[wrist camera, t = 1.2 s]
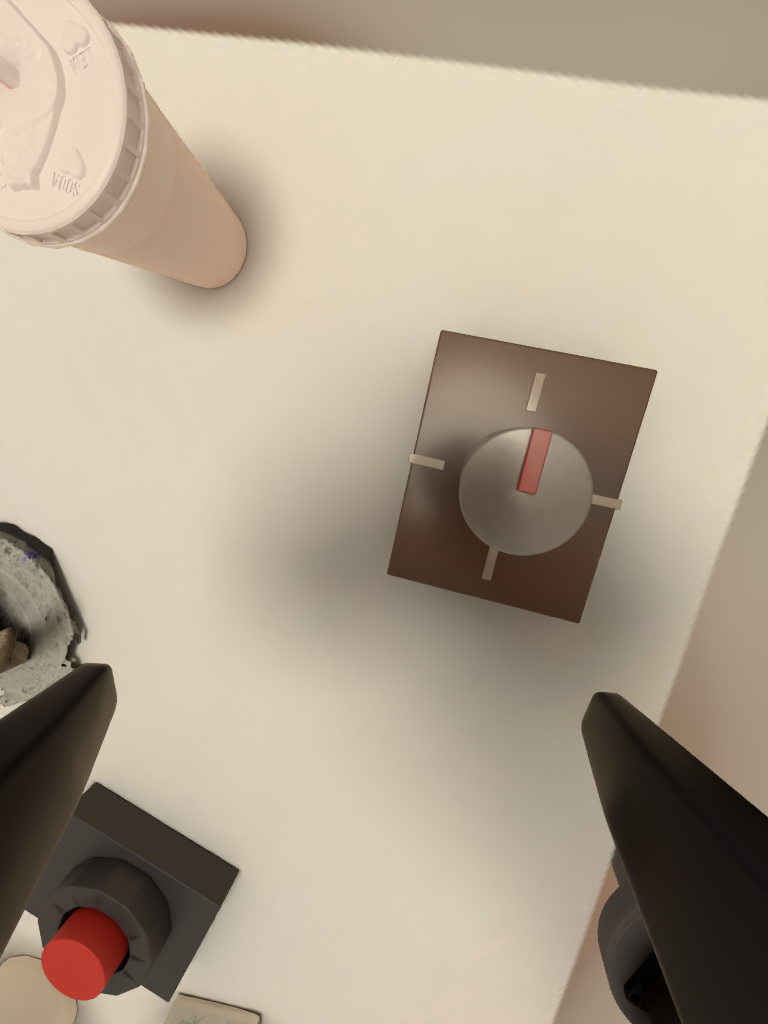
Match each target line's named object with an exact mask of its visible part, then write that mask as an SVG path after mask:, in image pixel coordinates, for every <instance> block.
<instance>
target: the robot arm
mask: <svg viewBox="0 0 768 1024" xmlns="http://www.w3.org/2000/svg"><path fill="white" fill-rule="evenodd" d="M116 704H117V694H116V688H115V683H114V678H113V673H112V669H111V667H110V666H109V665H108V664H99V663H85V664H82V665H80V666H79V667H77V668H76V669H74V670H73V671H71V672H70V673H68V674H67V675H65V676H64V677H62V678H61V679H59V680H58V681H56V682H55V683H53V684H52V685H50V686H49V687H47V688H46V689H45V690H43V691H42V692H40V693H39V694H37V695H36V696H34V697H33V698H31V699H30V700H28V701H27V702H25V703H24V704H22V705H21V706H19V707H18V708H16V709H15V710H13V711H12V712H10V713H9V714H7V715H6V716H4V717H3V718H1V719H0V957H1V955H2V953H3V951H4V949H5V947H6V946H7V944H8V942H9V940H10V938H11V936H12V934H13V932H14V930H15V928H16V926H17V924H18V922H19V920H20V918H21V916H22V914H23V912H24V910H25V908H26V906H27V904H28V902H29V900H30V898H31V896H32V894H33V892H34V890H35V888H36V886H37V884H38V882H39V880H40V878H41V876H42V874H43V872H44V870H45V868H46V866H47V864H48V863H49V861H50V859H51V857H52V855H53V853H54V851H55V849H56V847H57V845H58V843H59V841H60V839H61V837H62V835H63V833H64V831H65V829H66V827H67V825H68V823H69V821H70V819H71V817H72V815H73V813H74V811H75V809H76V807H77V805H78V803H79V800H80V798H81V796H82V794H83V791H84V789H85V786H86V784H87V781H88V779H89V776H90V774H91V771H92V768H93V766H94V763H95V761H96V758H97V755H98V753H99V750H100V748H101V745H102V743H103V740H104V737H105V735H106V732H107V730H108V727H109V724H110V722H111V719H112V717H113V714H114V711H115V708H116ZM582 735H583V738H584V742H585V746H586V750H587V753H588V757H589V761H590V764H591V768H592V772H593V776H594V779H595V783H596V787H597V791H598V794H599V798H600V802H601V805H602V808H603V812H604V815H605V818H606V821H607V824H608V827H609V829H610V832H611V835H612V838H613V840H614V843H615V846H616V848H617V851H618V854H619V856H620V859H621V862H622V864H623V867H624V870H625V873H626V875H627V878H628V881H629V883H630V886H631V889H632V891H633V894H634V897H635V899H636V902H637V905H638V907H639V910H640V913H641V916H642V918H643V921H644V924H645V926H646V929H647V932H648V934H649V937H650V940H651V942H652V945H653V948H654V951H653V952H652V953H651V954H650V955H649V956H648V958H647V959H646V960H645V961H644V962H643V963H642V964H641V966H640V967H639V968H638V969H637V970H636V971H635V973H634V974H633V975H632V976H631V977H630V978H629V980H628V981H627V982H626V983H625V984H624V986H623V990H624V993H625V997H626V999H627V1001H628V1002H629V1003H631V1004H632V1005H634V1006H636V1007H637V1008H639V1009H641V1010H642V1011H644V1012H646V1013H647V1014H649V1015H650V1018H651V1021H652V1024H768V817H767V816H766V815H765V814H763V813H762V812H761V811H760V810H759V809H757V808H756V807H755V806H754V805H753V804H751V803H750V802H749V801H748V800H746V799H745V798H744V797H743V796H742V795H741V794H739V793H738V792H737V791H735V790H734V789H733V788H732V787H731V786H730V785H728V784H727V783H726V782H725V781H724V780H722V779H721V778H720V777H719V776H718V775H716V774H715V773H714V772H713V771H711V770H710V769H709V768H708V767H707V766H705V765H704V764H703V763H702V762H701V761H699V760H698V759H697V758H696V757H695V756H693V755H692V754H691V753H690V752H689V751H687V750H686V749H685V748H684V747H682V746H681V745H680V744H679V743H678V742H676V741H675V740H674V739H673V738H672V737H670V736H669V735H668V734H667V733H665V732H664V731H663V730H662V729H661V728H659V727H658V726H657V725H656V724H655V723H653V722H652V721H651V720H650V719H649V718H647V717H646V716H645V715H644V714H643V713H641V712H640V711H639V710H638V709H636V708H635V707H634V706H633V705H632V704H630V703H629V702H628V701H627V700H626V699H624V698H623V697H622V696H620V695H619V694H617V693H608V692H597V693H596V694H594V695H593V697H592V699H591V701H590V704H589V706H588V708H587V710H586V713H585V715H584V717H583V720H582Z"/></svg>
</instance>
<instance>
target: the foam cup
mask: <svg viewBox="0 0 768 1024" xmlns="http://www.w3.org/2000/svg"><path fill="white" fill-rule="evenodd" d="M77 1010H78V1008H77V1004H76V1000H75V999H72V998H70V997H68V996H66V995H64V994H62V993H61V992H59V991H58V990H57V989H56V988H55V987H54V986H53V985H52V984H51V983H50V982H49V980H48V979H47V977H46V975H45V973H44V971H43V968H42V963H41V960H39V959H36V958H33V957H30V956H27V955H25V956H17V957H10V958H9V959H7V960H6V961H5V962H4V963H3V964H2V965H1V966H0V1024H74V1021H75V1017H76V1014H77Z"/></svg>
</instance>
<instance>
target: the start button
mask: <svg viewBox="0 0 768 1024" xmlns="http://www.w3.org/2000/svg"><path fill="white" fill-rule="evenodd" d="M128 947H129V944H128V938H127V936H126V935H125V934H124V932H123V931H122V929H121V928H120V926H119V925H118V924H117V922H116V921H115V920H113V919H112V918H110V917H109V916H107V915H106V914H104V913H102V912H101V911H99V910H98V909H94V908H87V907H81V908H79V909H77V910H75V911H74V912H73V913H72V914H71V916H70V917H69V918H68V919H67V921H66V922H65V923H64V924H63V925H62V927H61V928H60V929H59V930H58V932H57V933H56V934H55V935H54V936H53V938H52V939H51V940H50V941H49V943H48V944H47V945H46V946H45V948H44V950H43V953H42V957H41V963H42V968H43V971H44V973H45V975H46V977H47V979H48V980H49V982H50V983H51V984H52V985H53V986H54V987H55V988H56V989H57V990H58V991H59V992H61V993H62V994H64V995H66V996H68V997H70V998H72V999H76V1000H90V999H93V998H95V997H97V996H98V995H99V994H100V993H101V992H102V991H103V989H104V988H105V986H106V985H107V983H108V982H109V980H110V979H111V977H112V976H113V974H114V973H115V971H116V969H117V968H118V966H119V965H120V963H121V962H122V960H123V959H124V957H125V956H126V954H127V951H128Z"/></svg>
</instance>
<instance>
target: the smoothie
mask: <svg viewBox="0 0 768 1024" xmlns="http://www.w3.org/2000/svg"><path fill="white" fill-rule="evenodd" d="M0 229H1V230H3V231H5V232H6V233H7V234H8V235H10V236H12V237H15V238H17V239H19V240H21V241H23V242H25V243H28V244H30V245H32V246H39V247H47V248H55V249H59V248H64V247H69V246H72V247H75V248H78V249H81V250H84V251H87V252H91V253H95V254H98V255H101V256H104V257H107V258H111V259H114V260H117V261H120V262H123V263H126V264H130V265H133V266H136V267H139V268H142V269H145V270H149V271H152V272H155V273H158V274H161V275H164V276H168V277H171V278H174V279H177V280H180V281H183V282H187V283H190V284H193V285H196V286H199V287H203V288H217V287H221V286H223V285H225V284H227V283H229V282H230V281H231V280H232V279H234V277H235V276H236V275H237V274H238V273H239V271H240V269H241V268H242V266H243V263H244V260H245V257H246V250H247V241H246V235H245V231H244V228H243V226H242V224H241V222H240V220H239V219H238V217H237V216H236V214H235V213H234V212H233V210H232V209H231V207H230V206H229V205H228V203H227V202H226V200H225V199H224V198H223V196H222V195H221V193H220V192H219V191H218V189H217V188H216V186H215V185H214V184H213V182H212V181H211V180H210V178H209V177H208V175H207V174H206V173H205V171H204V170H203V168H202V167H201V166H200V164H199V163H198V161H197V160H196V159H195V157H194V156H193V154H192V153H191V152H190V150H189V149H188V147H187V146H186V145H185V143H184V142H183V140H182V139H181V138H180V136H179V135H178V133H177V132H176V131H175V129H174V128H173V127H172V125H171V124H170V122H169V121H168V120H167V118H166V117H165V115H164V114H163V113H162V111H161V110H160V108H159V107H158V105H157V104H156V102H155V101H154V99H153V98H152V97H151V95H150V94H149V93H148V91H147V90H146V89H145V84H144V82H143V79H142V77H141V74H140V72H139V69H138V66H137V64H136V61H135V59H134V56H133V54H132V52H131V51H130V49H129V48H128V46H127V45H126V43H125V42H124V40H123V39H122V38H121V36H120V35H119V33H118V32H117V30H116V29H115V28H114V26H113V25H112V24H110V23H109V22H108V21H107V20H106V19H104V18H103V17H102V16H101V15H100V14H99V13H98V12H97V11H96V9H95V8H94V7H93V6H92V5H91V4H90V3H89V1H88V0H0Z"/></svg>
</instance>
